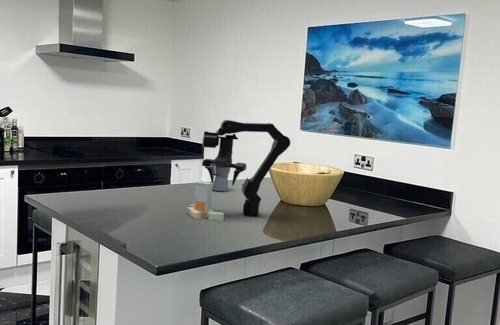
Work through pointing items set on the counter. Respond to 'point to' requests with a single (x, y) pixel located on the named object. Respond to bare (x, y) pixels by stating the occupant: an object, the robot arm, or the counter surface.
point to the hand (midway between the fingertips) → (222, 184)
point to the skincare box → (203, 196)
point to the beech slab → (198, 213)
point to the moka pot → (221, 178)
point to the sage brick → (215, 216)
